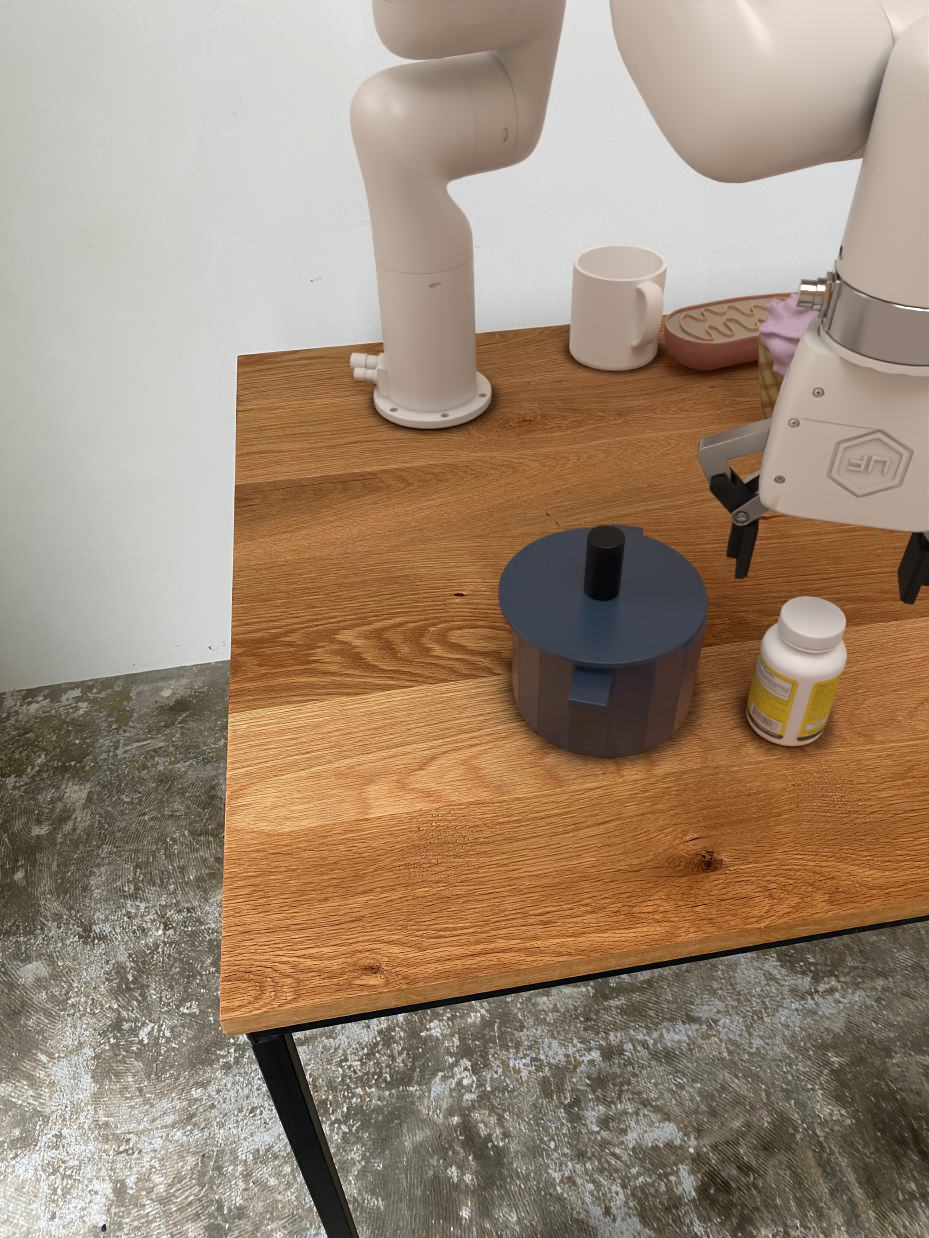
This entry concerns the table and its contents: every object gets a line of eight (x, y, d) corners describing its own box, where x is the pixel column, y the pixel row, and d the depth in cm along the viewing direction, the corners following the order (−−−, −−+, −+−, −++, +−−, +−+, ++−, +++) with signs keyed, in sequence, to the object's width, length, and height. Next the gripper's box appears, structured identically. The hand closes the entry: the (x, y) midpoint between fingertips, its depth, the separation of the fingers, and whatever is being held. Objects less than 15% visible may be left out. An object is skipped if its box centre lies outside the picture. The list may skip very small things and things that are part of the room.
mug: (553, 342, 109) (556, 255, 102) (626, 324, 112) (634, 238, 105) (609, 390, 101) (617, 297, 94) (687, 368, 104) (700, 277, 97)
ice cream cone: (804, 456, 90) (841, 307, 80) (738, 451, 91) (766, 303, 81) (800, 421, 95) (835, 275, 85) (737, 416, 96) (764, 272, 86)
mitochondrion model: (677, 390, 100) (683, 347, 97) (645, 349, 107) (650, 307, 104) (874, 364, 103) (887, 321, 100) (831, 325, 110) (841, 284, 107)
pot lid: (476, 656, 60) (474, 590, 56) (521, 528, 69) (522, 464, 66) (697, 691, 57) (710, 624, 53) (711, 553, 66) (723, 487, 63)
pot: (486, 769, 63) (484, 676, 57) (540, 596, 76) (542, 506, 70) (677, 805, 61) (696, 712, 55) (699, 620, 74) (716, 529, 68)
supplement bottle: (821, 696, 67) (856, 594, 61) (825, 754, 63) (863, 651, 57) (744, 686, 68) (769, 584, 62) (743, 742, 64) (770, 639, 58)
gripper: (720, 329, 45) (672, 594, 57) (1119, 368, 41) (980, 642, 53) (729, 265, 50) (684, 520, 62) (1085, 295, 47) (965, 559, 58)
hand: (821, 576), depth 57 cm, fingers open, 9 cm apart
